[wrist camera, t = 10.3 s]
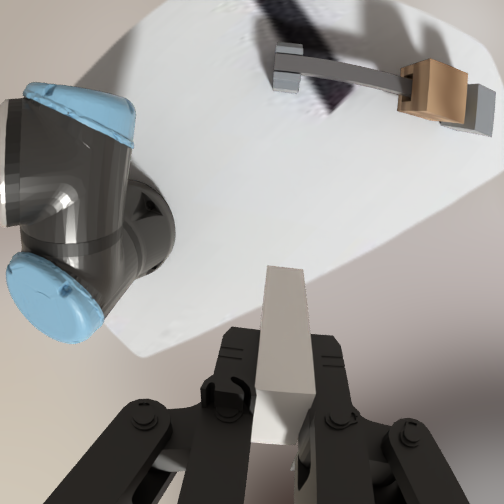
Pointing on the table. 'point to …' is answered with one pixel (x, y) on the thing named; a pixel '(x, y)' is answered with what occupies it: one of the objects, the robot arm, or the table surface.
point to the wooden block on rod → (435, 92)
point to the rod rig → (375, 84)
